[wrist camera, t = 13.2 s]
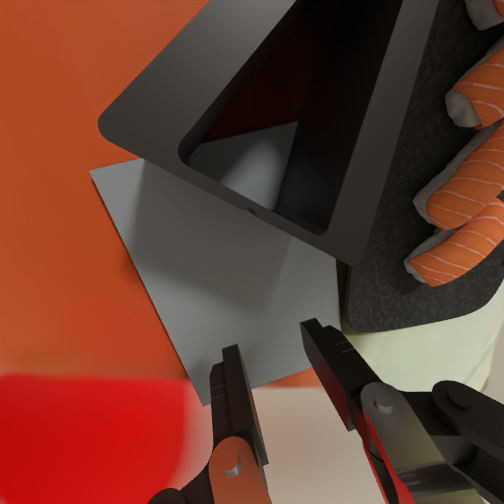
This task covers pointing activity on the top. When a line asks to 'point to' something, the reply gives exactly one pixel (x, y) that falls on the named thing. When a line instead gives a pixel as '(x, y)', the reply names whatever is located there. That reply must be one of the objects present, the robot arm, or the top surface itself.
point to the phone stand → (312, 114)
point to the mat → (223, 257)
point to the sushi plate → (441, 183)
